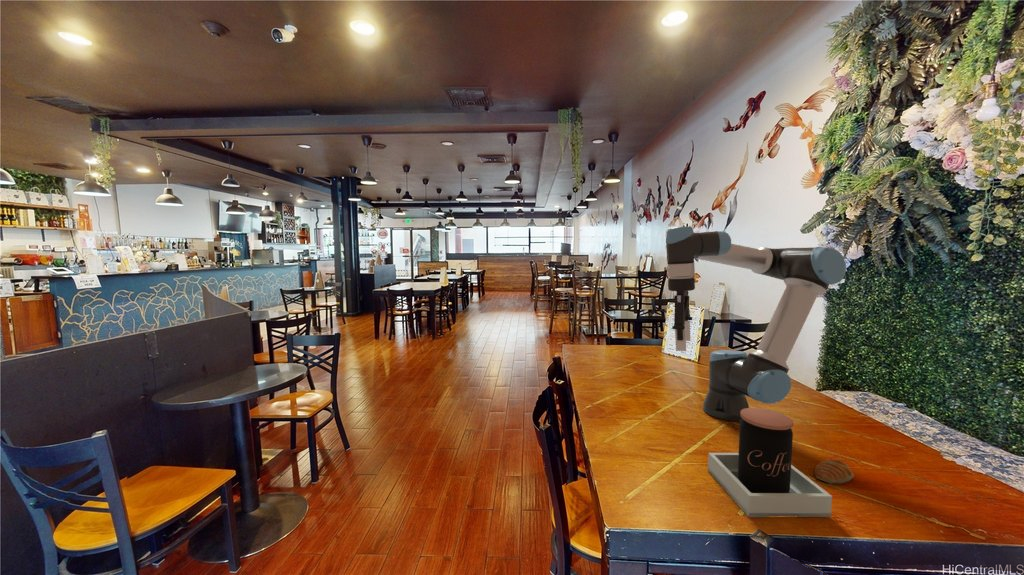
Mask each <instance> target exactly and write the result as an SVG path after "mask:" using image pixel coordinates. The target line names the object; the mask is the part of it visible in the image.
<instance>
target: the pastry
mask: <svg viewBox="0 0 1024 575" xmlns="http://www.w3.org/2000/svg"><path fill="white" fill-rule="evenodd" d="M814 470H815V471H814V476H815V478H816V479H818V480H820V481H823V482H825V483H828V484H830V485H834V483H835V484H836V485H837V484H840V485H841V484H844V483H847V482H850V481H851V480H852V479H853V478H854V477H855V474H854V473H853V472H852V470H851V468H850V467H849V465H848V464H847V463H845V462H844V461H842V460H840V459H833V458H829V459H826V460H822V461H821V462H819V463H818V464H816V465H815V469H814Z"/></svg>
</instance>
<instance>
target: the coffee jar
mask: <svg viewBox="0 0 1024 575" xmlns="http://www.w3.org/2000/svg"><path fill="white" fill-rule="evenodd" d="M740 414H741V417H742V419H741V420H740V421H739V431H738V432H739V435H738V436H739V438H738V453H739V456H738V479H739V481H740V482H741V483H742V484H743V485H744V486H745V487H746V488H747V489H748V490H749V491H750V492H752V493H789V491H790V478H791V465H792V457H793V440H794V439H793V438H794V433H793V430H792V428H793V426H794V420H793V419H792V418H791V417H790V416H787V415H786V414H784V413H782V412H778V411H776V410H772V409H767V408H762V407H749V408H745V409H742V410H741V411H740Z"/></svg>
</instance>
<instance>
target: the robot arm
mask: <svg viewBox="0 0 1024 575" xmlns="http://www.w3.org/2000/svg"><path fill="white" fill-rule="evenodd" d="M665 244H666V245H665V248H666V259H667V260H666V261H667V267H665V270H666V271H667V276H668V280H667V290H669V291H670V292H676V293H675V295H674V297H673V301H674V320H673V322H674V324H673V325H672V328H671V329H672V330H674V335H675V351H678V352H687V342H691V321H693V317H692V316H691V312H690V295H689V291H694V290H695V289H696V282H695V281H696V280H695V278H694V277H695V274H696V270H695V268H696V267H695V259H696V260H701V261H705V262H711V263H716V264H721V265H726V266H732V267H737V268H742V269H747V270H751V272H753V273H754V274H758V275H762V276H767V277H771V278H775V279H777V280H781V281H783V282H784V284H785V285H786V287H785V289H784V291H783V293H782V296H781V297H780V299H779V302H778V304H777V306H776V308H775V311H774V313H773V315H772V316H771V318H770V321H769V322H768V325H767V327H766V329H765V331H764V333H763V335H762V337H761V339H760V341H759V343H758V346H757V347H756V350H754V351H750V352H749V353H748V354H747V353H746V352H745V351H741V350H734V349H733V350H732V349H731V350H730V349H729V350H728V349H723V350H722V349H720V350H714V351H712V352H711V353H710V354H709V356H710V357H709V362H708V363H709V365H708V366H709V369H708V370H709V371H708V373H709V374H708V390H707V393H706V395H705V397H704V400H703V401H702V402H703V403H702V410H703V412H704V413H706V414H707V415H709V416H712V417H714V418H717V419H721V420H724V421H730V422H740V420H741V419H742V417H741V414H740V411H741V410H742V409H745V408H750V405H749V403H748V398H750V399H752V400H754V401H756V402H761V403H762V404H768V405H772V404H776V403H780V402H781V401H782V400H784V399H785V398H786V397H787V396H788V395H789V393H790V392H791V389H792V383H791V382H792V379H791V377H790V375H789V374H788V373H789V370H790V367H789V366H788V365H787V364H788V363H787V361H788V358H789V357H790V354H791V352H792V350H793V349H794V346H795V344H796V342H797V340H798V337H799V336H800V333H801V332H802V329H803V327H804V325H805V322H806V320H807V319H808V316H809V314H810V312H811V310H812V308H813V306H814V303H815V302H816V299H817V298H818V297H819V296H820V295H823V294H826V292H827V291H828V288H829V286H830V285H836V284H838V283H840V282H841V281H842V280H844V277H845V275H846V271H847V263H846V261H845V258H844V255H843V253H841V252H840V251H839V250H837V249H836V248H833V247H828V246H827V247H824V246H815V247H784V248H783V247H782V248H781V247H780V248H769V247H758V248H755V247H749V246H744V245H740V244H736V243H735V244H734V243H732V238H731V236H730V235H729V233H727V232H726V231H718V230H717V231H716V230H715V231H714V230H713V231H705V232H694V229H693V227H692V226H688V225H687V226H676V227H670V228H668V229H667V230H666V237H665ZM747 397H748V398H747Z"/></svg>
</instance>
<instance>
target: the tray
mask: <svg viewBox="0 0 1024 575" xmlns="http://www.w3.org/2000/svg"><path fill="white" fill-rule="evenodd" d="M707 456H708V457H707V472H709V474H710V473H711V474H710V475H711V476H712V477H713V478H714V480H715V481H716V482H717V483H718V484H719V485H720V486H721V488H722V489H723V490H724V491H725V492H726V493H727V494H728V496H729V497H730V498H731V499H732V501H734V502H735V503H737V504H736V505H737V506H738V508H740V509H741V511H742V512H743V511H744V512H743V513H744V514H745V515H746V516H747V517H748V518H767V517H766V516H794V517H793V518H795V516H797V517H826V518H827V517H829V518H827V519H830V518H832V505H833V495H831V494H830V493H829V492H827V491H826V490H825V489H824V488H823V487H821V486H820V485H818V484H817V483H816V482H815V481H813V480H812V479H810V478H809V477H808V476H807V475H806V474H804V473H803V472H802V471H800V470H799V469H798V468H796V467H795V466H794V465H793V464H791V478H790V491H789V493H752V492H750V491H749V490H748V489H747V488H746V487H745V486H744V485H743V484H742V483H741V482H740V481H739V479H738V456H739V452H708V454H707Z"/></svg>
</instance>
